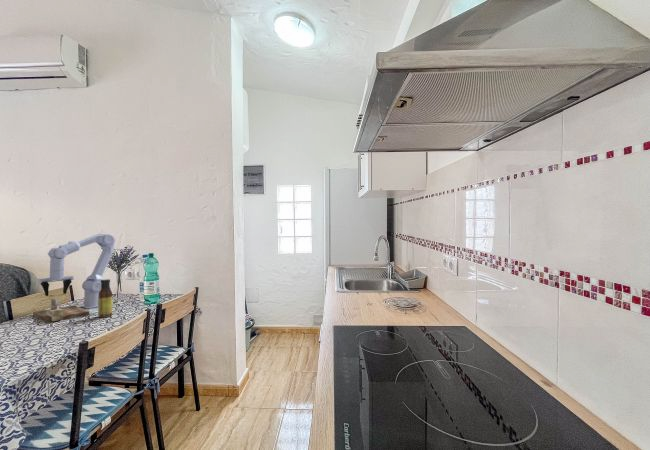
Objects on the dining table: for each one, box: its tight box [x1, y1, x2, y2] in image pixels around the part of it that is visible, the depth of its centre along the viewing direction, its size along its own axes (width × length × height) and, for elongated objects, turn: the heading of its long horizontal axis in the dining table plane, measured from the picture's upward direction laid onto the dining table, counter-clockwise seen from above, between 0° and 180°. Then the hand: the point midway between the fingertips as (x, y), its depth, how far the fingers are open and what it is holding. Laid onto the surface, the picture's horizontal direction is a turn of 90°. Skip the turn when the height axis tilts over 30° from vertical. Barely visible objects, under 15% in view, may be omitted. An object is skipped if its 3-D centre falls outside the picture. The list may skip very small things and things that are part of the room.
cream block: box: [46, 298, 63, 322], centre depth 159 cm, size 4×9×10 cm, turn 57°
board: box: [32, 305, 90, 323], centre depth 167 cm, size 18×20×2 cm
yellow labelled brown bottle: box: [97, 278, 114, 319], centre depth 168 cm, size 6×6×20 cm
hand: (55, 294), depth 170 cm, fingers open, 7 cm apart
